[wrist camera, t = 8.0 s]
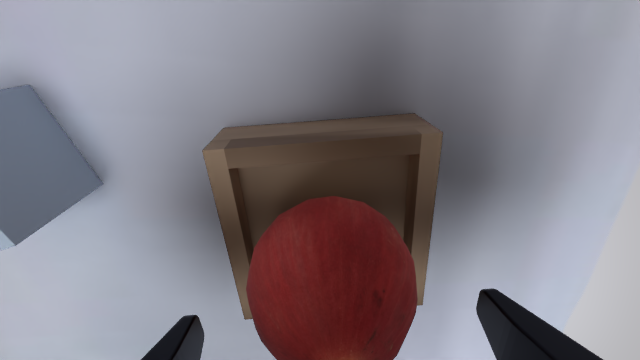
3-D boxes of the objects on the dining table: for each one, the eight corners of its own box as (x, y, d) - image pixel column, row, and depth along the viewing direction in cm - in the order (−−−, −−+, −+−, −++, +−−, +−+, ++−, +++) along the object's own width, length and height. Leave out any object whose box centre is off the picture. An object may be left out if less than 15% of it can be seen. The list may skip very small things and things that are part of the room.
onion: (405, 240, 14) (508, 431, 7) (305, 290, 15) (306, 504, 8) (349, 142, 12) (413, 269, 5) (237, 206, 13) (155, 393, 6)
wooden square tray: (401, 256, 18) (422, 304, 15) (255, 267, 18) (244, 319, 15) (411, 110, 14) (443, 132, 11) (226, 124, 14) (202, 150, 11)
